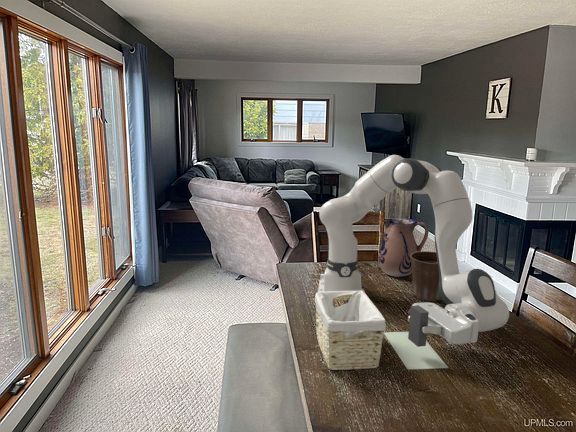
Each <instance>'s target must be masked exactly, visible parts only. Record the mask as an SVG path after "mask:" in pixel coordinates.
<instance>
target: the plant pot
mask: <svg viewBox="0 0 576 432" xmlns="http://www.w3.org/2000/svg"><path fill="white" fill-rule="evenodd" d="M410 257H411V265H412V273H411V274H412V295H413V296H414V297H416V298H417V299H419V300H422V301H426V302H437V301H440V302H441V301H443V300H442V299H441V297H440V294H439V290H438V286H439V269H438V262H437V255H436V251H428V250H427V251H422V250H421V251H420V252H414V253H412V254H411V255H410Z"/></svg>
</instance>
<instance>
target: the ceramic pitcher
mask: <svg viewBox="0 0 576 432" xmlns="http://www.w3.org/2000/svg"><path fill="white" fill-rule="evenodd" d="M418 226H421V227H423V228H424V229H423V230H424V235H423V238H422V240H421V242H420V243H419V244H417V242H416V238H415V236H414V235H415V234H414V230H415V228H416V227H418ZM428 237H429V227H428V225H427V224H426V223H425V222H423V221H422V222H421V221H416V220H414V219H408V218H400V217H399V218H398V217H394V218H392V219H385V220H384V231H383V236H382V239H381V243H380V246H379V250H378V254H377V262H378V265H379V267H380V269H381V270H382V272H383V273H385V274H386V275H387V276H390V277H394V278H395V277H396V278H401V277H408V276H409V275H411V274H412V265H411V257H410V255H411V254H412V253H414V252H420V251H422V250H423V247H424V245H426V242H427V239H428Z"/></svg>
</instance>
